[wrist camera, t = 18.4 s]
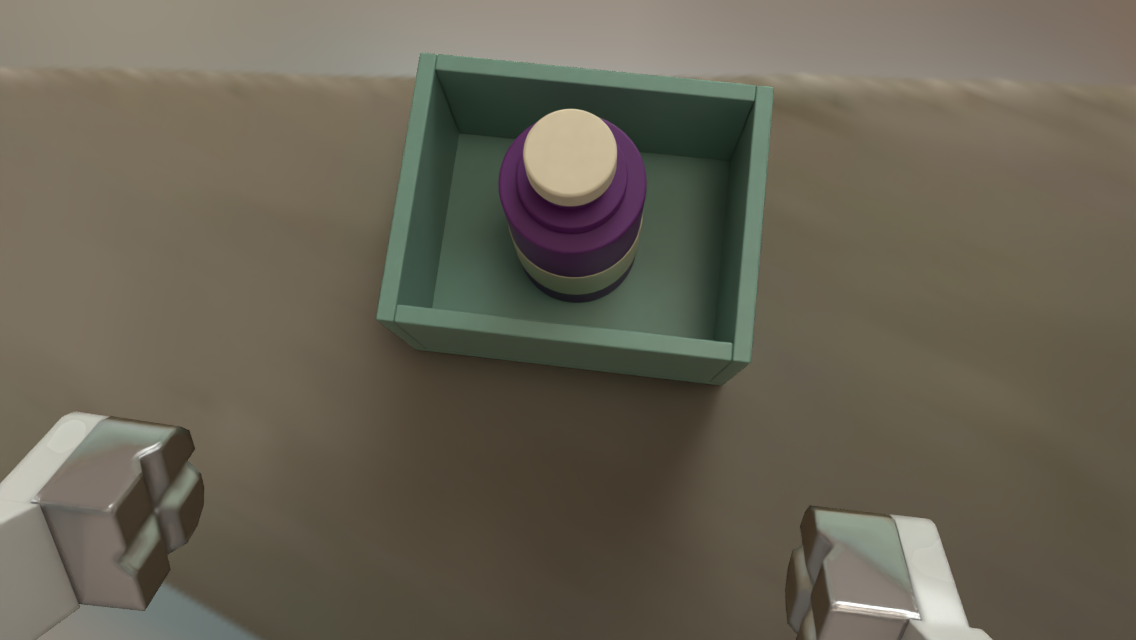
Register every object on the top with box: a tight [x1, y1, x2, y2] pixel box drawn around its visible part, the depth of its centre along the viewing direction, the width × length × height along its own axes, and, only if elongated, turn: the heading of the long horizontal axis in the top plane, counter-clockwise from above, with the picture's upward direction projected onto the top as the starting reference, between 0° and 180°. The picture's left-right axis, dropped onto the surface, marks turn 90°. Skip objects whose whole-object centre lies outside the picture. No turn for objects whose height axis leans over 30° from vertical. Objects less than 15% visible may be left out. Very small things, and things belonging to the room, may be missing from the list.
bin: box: [376, 53, 774, 386], centre depth 26 cm, size 10×8×5 cm
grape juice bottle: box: [498, 109, 647, 303], centre depth 24 cm, size 4×4×8 cm
